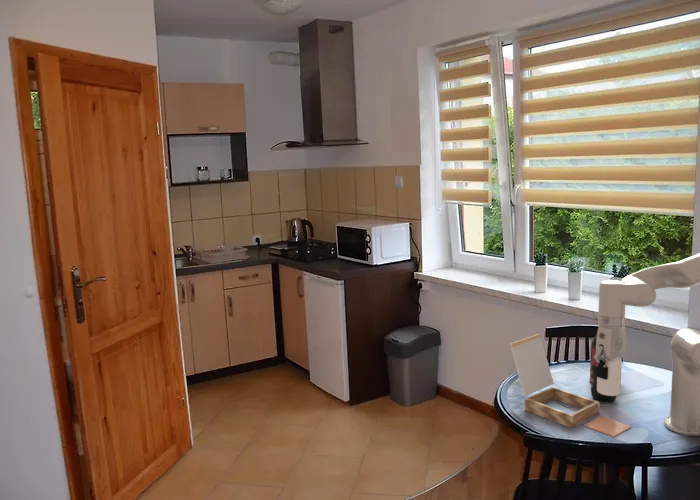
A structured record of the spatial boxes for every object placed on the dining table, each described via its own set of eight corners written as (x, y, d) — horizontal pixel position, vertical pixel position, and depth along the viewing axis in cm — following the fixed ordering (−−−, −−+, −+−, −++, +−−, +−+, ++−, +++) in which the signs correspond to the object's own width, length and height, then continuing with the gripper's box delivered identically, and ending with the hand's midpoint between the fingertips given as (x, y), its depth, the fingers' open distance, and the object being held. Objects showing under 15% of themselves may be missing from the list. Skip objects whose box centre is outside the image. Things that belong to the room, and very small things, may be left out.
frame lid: (540, 333, 217) (537, 334, 218) (511, 343, 207) (509, 343, 208) (554, 383, 215) (551, 383, 216) (526, 395, 205) (523, 396, 206)
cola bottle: (619, 405, 207) (622, 321, 202) (593, 404, 209) (595, 320, 204) (613, 395, 215) (616, 314, 210) (588, 394, 217) (590, 313, 212)
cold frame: (599, 413, 202) (599, 402, 201) (571, 427, 192) (571, 416, 192) (552, 397, 216) (553, 386, 215) (524, 409, 207) (524, 398, 206)
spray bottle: (623, 391, 190) (625, 336, 187) (615, 398, 185) (618, 342, 182) (601, 386, 195) (603, 332, 192) (593, 392, 190) (595, 337, 187)
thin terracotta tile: (631, 427, 191) (631, 426, 191) (613, 437, 185) (613, 436, 185) (601, 417, 199) (601, 416, 199) (584, 426, 193) (584, 425, 193)
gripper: (607, 328, 178) (605, 385, 181) (637, 317, 188) (635, 371, 191) (584, 323, 184) (582, 378, 187) (614, 312, 194) (612, 365, 197)
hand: (609, 374), depth 189 cm, fingers closed on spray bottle, 6 cm apart
